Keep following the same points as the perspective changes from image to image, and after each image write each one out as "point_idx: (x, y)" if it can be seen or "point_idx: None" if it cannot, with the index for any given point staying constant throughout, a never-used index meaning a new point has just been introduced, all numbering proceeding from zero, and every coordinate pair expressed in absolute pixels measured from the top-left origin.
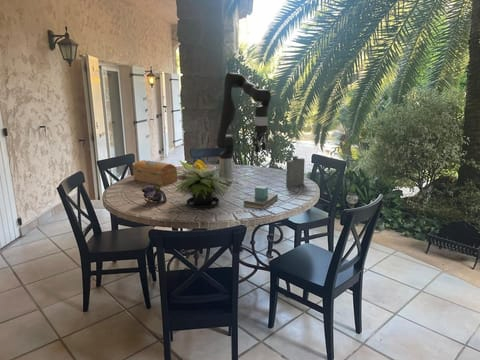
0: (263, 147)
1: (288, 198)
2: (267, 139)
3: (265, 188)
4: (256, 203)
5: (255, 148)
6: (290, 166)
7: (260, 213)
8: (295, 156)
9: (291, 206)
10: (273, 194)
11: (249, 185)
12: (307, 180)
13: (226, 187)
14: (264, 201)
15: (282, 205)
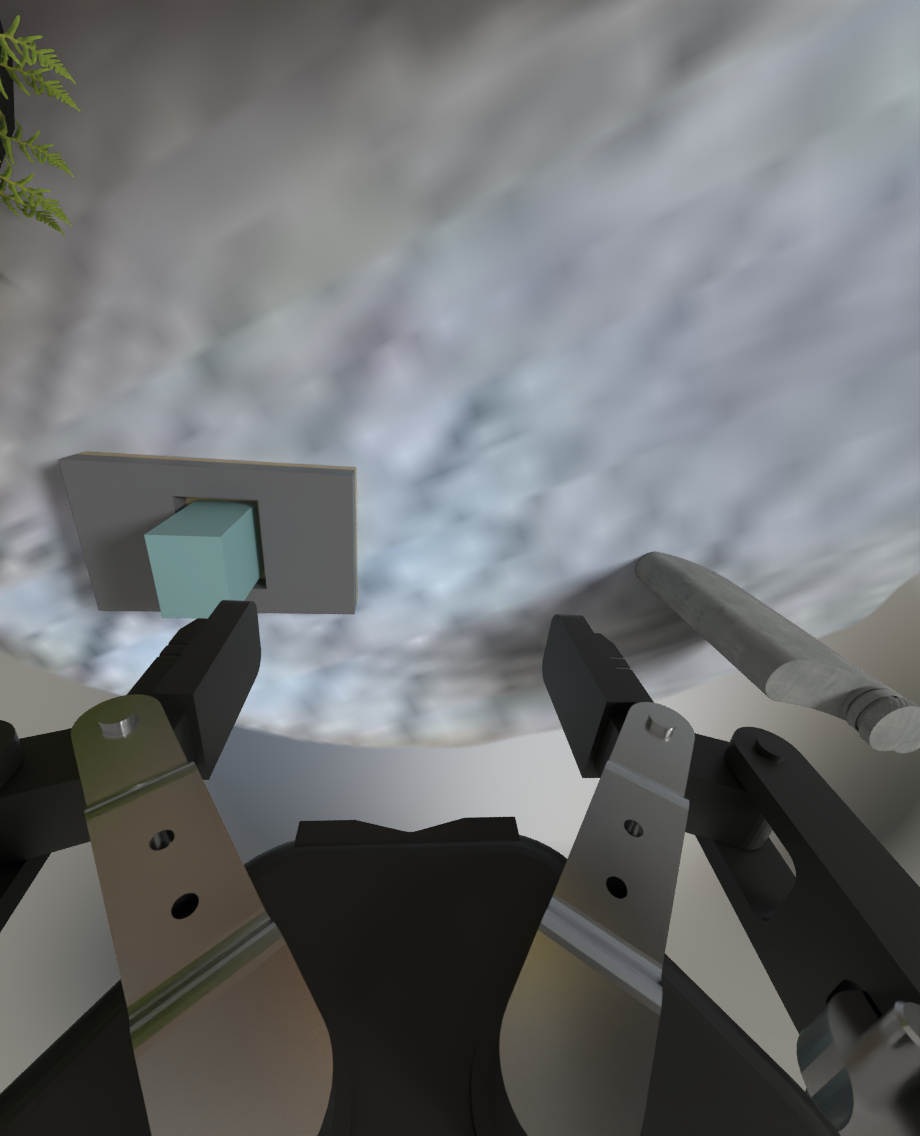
0: (563, 680)
1: (398, 646)
2: (781, 900)
3: (183, 617)
4: (90, 560)
5: (148, 671)
6: (736, 667)
7: (30, 611)
8: (888, 736)
9: (264, 704)
10: (331, 594)
11: (631, 245)
12: (829, 620)
13: (4, 201)
14: (145, 601)
15: None
